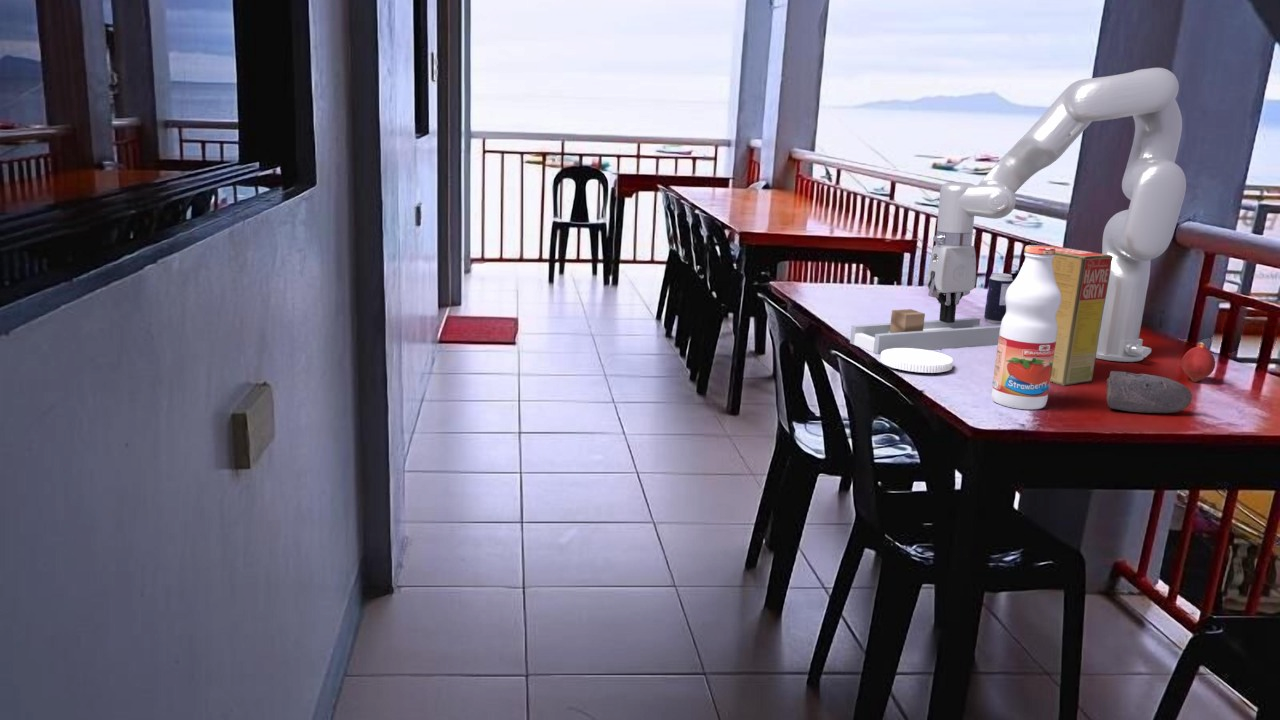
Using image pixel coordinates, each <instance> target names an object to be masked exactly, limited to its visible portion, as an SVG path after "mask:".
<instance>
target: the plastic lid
mask: <svg viewBox="0 0 1280 720" xmlns="http://www.w3.org/2000/svg"><path fill="white" fill-rule="evenodd" d="M880 362H881V363H882V364H883V365H885V366H887V367H889V368H892V369H898V370H900V371H901V370H902V371H906V372H912V373H913V372H914V373H925V374H926V373H928V374H929V373H931V374H933V373H943V372H944V373H945V372H949V371H950V370H952V369H953V362H954V359H953V358H952V357H951V356H950V355H947V354H945V353H943V352H942V353H941V352H937V351H936V350H935V351H934V350H923V349H914V348H893V349H887V350H884V351H882V352H881V354H880Z"/></svg>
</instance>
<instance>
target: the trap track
mask: <svg viewBox="0 0 1280 720" xmlns="http://www.w3.org/2000/svg"><path fill="white" fill-rule="evenodd" d="M980 323H981V318H978V317H967V318H966V317H965V318H955V322H954V323H945V322H942V321H940V320H939V319H934V320H924V327H923V331H913V332H898V333H891V332H890V324H891V322H889V323H888V322H885V323H872V324H871V323H870V324H858V325H857V324H854V325H851V328H850V339H849V344H850V345H854V346H856V347H859V348H862V349H863V350H866V351H869V352H872V353H874V354H877V355H881V352H882V351H884V350H887V349H893V348H914V349H923V350H929V351H934V350H935V351H936V350H945V349H946V350H947V349H958V348H959V349H960V348H969V347H972V348H973V347H982V346H984V347H985V346H998V340H999V332H1000V326H1001V325H988V326H983V325H980Z"/></svg>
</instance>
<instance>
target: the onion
mask: <svg viewBox="0 0 1280 720" xmlns="http://www.w3.org/2000/svg"><path fill="white" fill-rule="evenodd" d="M1180 365H1181V366H1180V367H1181V369H1182V371H1183V372H1184V373H1185V375H1187V376H1188V377H1189V378H1190V381H1192V382H1200V381H1201V380H1203V379H1206V378H1207V377H1208V376H1210V375H1211V374H1212V373H1213V372H1214V370H1215V367H1216V359H1215V356H1214V355H1213V353H1212V352H1211V351H1210V350H1209V348H1207V347H1206V345H1205V343H1204V342H1199V343H1197V346H1195V347H1192V348H1190V349H1188V350H1187V351H1186V352H1185V354H1184V355H1183V357H1182V359H1181V363H1180Z"/></svg>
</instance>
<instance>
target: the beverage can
mask: <svg viewBox="0 0 1280 720" xmlns="http://www.w3.org/2000/svg"><path fill="white" fill-rule="evenodd" d="M1013 281H1014V279H1013V275H1012V274H1009V273H1002V272H994V273H993V272H992V273H991V275H990V277H989V279H988V285H987V290H986V291H987V293H986V301H985V308H984V314H983V315H984V317H983V318H984V319H985V320H986V322H987V323H991V324H999V325H1001V322H1002V319H1003V317H1004V315H1005V313H1006V303H1005V295H1006V291H1007V289H1008V287H1009V286H1010V285H1011V283H1012V282H1013Z"/></svg>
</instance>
